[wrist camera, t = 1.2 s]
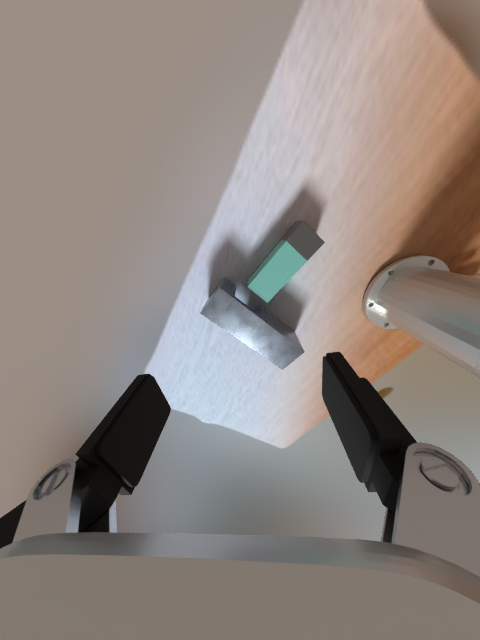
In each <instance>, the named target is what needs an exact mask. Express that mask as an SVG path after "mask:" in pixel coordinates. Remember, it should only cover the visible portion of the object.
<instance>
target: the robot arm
mask: <svg viewBox="0 0 480 640" xmlns="http://www.w3.org/2000/svg"><path fill="white" fill-rule="evenodd" d="M363 310H364V313H365V315H366V317H367V318H368V319H369V320H370V321H371V322H372V323H373V324H375V325H377V326H379V327H381V328H385V329H400V330H402V331H404V332H405V333H407V334H408V335H410V336H412V337H413V338H415V339H416V340H418V341H419V342H421V343H423V344H424V345H426V346H427V347H429V348H430V349H432V350H434V351H435V352H437V353H438V354H440V355H442V356H443V357H445V358H446V359H448V360H449V361H451V362H453V363H454V364H456V365H457V366H459V367H460V368H462V369H463V370H465V371H467V372H468V373H470V374H471V375H473V376H474V377H476V378H478V379H479V380H480V274H474V275H470V276H468V275H463V274H458V273H453V272H450V270H449V268H448V266H447V265H446V264H445V263H444V262H443V261H442V260H440V259H438V258H436V257H431V256H424V255H416V256H410V257H406V258H402V259H400V260H398V261H395V262H394V263H392V264H390V265H389V266H387V267H386V268H384V269H383V270H382V271H381V272H379V273H378V275H377V276H376V277H375V278H374V279H373V280H372V282H371V283H370V284H369V286H368V288H367V290H366V292H365V295H364V299H363ZM322 396H323V400H324V402H325V405H326V407H327V409H328V412H329V414H330V416H331V419H332V421H333V423H334V425H335V428H336V430H337V432H338V435H339V437H340V439H341V442H342V444H343V446H344V448H345V451H346V453H347V455H348V458H349V460H350V462H351V465H352V467H353V469H354V471H355V474H356V476H357V478H358V480H359V481H360V482H361V483H365V486H366V488H367V490H368V492H377V493H378V496H379V497H380V499H381V502H382V504H383V505H384V506H386V511H385V517H384V523H383V530H382V536H381V542H378V541H369V540H360V539H340V538H321V537H297V536H296V537H295V536H294V537H293V536H258V535H256V536H255V535H218V534H169V533H168V534H167V533H117V529H116V528H117V526H116V501H115V500H116V497H117V495H118V493H119V494H120V495H131V494H132V492H133V490H134V488H135V486H137V485H138V483H139V481H140V479H141V477H142V475H143V472H144V470H145V468H146V466H147V464H148V461H149V459H150V457H151V455H152V452H153V450H154V448H155V446H156V443H157V441H158V438H159V436H160V434H161V432H162V430H163V427H164V425H165V423H166V421H167V419H168V416H169V414H170V410H171V409H170V405H169V404H168V402H167V400H166V398H165V396H164V395H163V393H162V391H161V389H160V387H159V385H158V384H157V382H156V380H155V378H154V377H153V376H151V375H150V374H143V375H138V376H137V377H136V378H135V379H134V381H133V382H132V383H131V385H130V386H129V387H128V388H127V390H126V391H125V392H124V393H123V395H122V396H121V397H120V398H119V400H118V401H117V402H116V404H115V405H114V406H113V407H112V409H111V410H110V411H109V412H108V414H107V415H106V416H105V417H104V419H103V420H102V421H101V423H100V424H99V425H98V426H97V428H96V429H95V430H94V431H93V433H92V434H91V435H90V437H89V438H88V439H87V440H86V442H85V443H84V444H83V445H82V447H81V448H80V449H79V450H78V452H77V453H76V455H77V456H78V457H79V459H78V460H77V461H75V460H74V459H66V460H63V461H61V462H59V463H58V464H56V465H55V466H53V467H52V468H50V469H49V470H48V471H47V472H46V473H45V474H44V475H43V476H42V477H41V478H40V479H39V480H38V481H37V482H36V484H35V485H34V486H33V488H32V489H31V491H30V493H29V495H28V498H27V500H26V501H24V502H23V503H21V504H20V505H19V506H17V507H16V508H14V509H13V510H11V511H10V512H9V513H7V514H6V515H4V516H3V517H2V518H0V640H480V484H479V482H478V480H477V479H476V478H475V476H474V474H473V473H472V471H470V469H469V468H468V467H467V466H466V465H465V464H463V463H462V461H460V460H459V459H457V458H456V457H455V456H453V455H452V454H451V453H449V452H447V451H445V450H443V449H442V448H440V447H437V446H434V445H431V444H426V443H417V442H416V440H415V439H414V438H413V437H412V436H411V434H410V433H409V432H408V430H407V429H406V428H405V427H404V425H403V424H402V423H401V422H400V420H399V419H398V418H397V416H396V415H395V414H394V413H393V411H392V410H391V409H390V408H389V406H388V405H387V404H386V403H385V401H384V400H383V399H382V397H381V396H380V395H379V394H378V392H377V391H376V390H375V389H374V387H373V386H372V385H371V384H370V382H369V381H368V380H367V379H365V378H359V377H358V375H357V374H356V373H355V371H354V370H353V369H352V367H351V366H350V365H349V363H348V362H347V361H346V359H345V358H344V356H343V355H342V354H341V353H340V352H333V353H327V354H326V356H324V357H323V374H322Z"/></svg>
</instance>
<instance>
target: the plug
mask: <svg viewBox="0 0 480 640" xmlns="http://www.w3.org/2000/svg"><path fill="white" fill-rule="evenodd" d="M324 243H325V242H324V241H323V240H322V239H321V238H320V237H319V236H318V235H317V234H316V233H315V232H314V231H313V230H312V229H311V228H310V226H309V225H308V224H307V223H306V222H305V221H299V222H295V224H294V225H293V226H292V227H291V228H290V230H289V231H288V232H287V233H286V234H285V236H284V237H283V238H282V239H281V240H280V242H279V243H278V244H277V245H276V246H275V248H274V249H273V250H272V251H271V252H270V254H269V255H268V256H267V257H266V258H265V260H264V261H263V262H262V263H261V265H260V266H259V267H258V268H257V269H256V271H255V272H254V273H253V274H252V275H251V277H250V278H249V279H248V280H247V287H248V288H249V289H250V290H252V291H253V292H254V293H255V294H257V295H258V296H259V297H260V298H262V299H263V300H264V301H265V302H267V303H268V302H269V301H270V300H271V299H272V298H273V297H274V295H275V294H276V293H277V292H278V291H279V290H280V289H281V288H282V287H283V286H284V285H285V284H286V283H287V282H288V281H289V280H290V279H291V278H292V276H293V275H294V274H295V273H296V272H297V271H298V270H299V269H300V268H301V267H302V266H303V265H304V264H305V263H306V262H307V261H308V260H309V258H310V257H311V256H312V255H313V254H314V253H315V252H316V251H317V250H318V249H319V248H320V247H321V246H322V245H323V244H324Z"/></svg>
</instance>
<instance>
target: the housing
mask: <svg viewBox="0 0 480 640" xmlns="http://www.w3.org/2000/svg"><path fill="white" fill-rule="evenodd" d="M235 292H236V286H235V285H234V284H233V283H231V282H230V281H229V280H227V279H226V278H224V279H223V280H222V282H221V283H220V284H219V286H218V287H217V288H216V290H215V291H214V292H213V293H212V295H211V296H210V297H209V299H208V300H207V302H206V304H205V306H204V307H203V309H202V311H201V314H202V315H204V316H205V317H207V318H208V319H210V320H211V321H212V322H214V323H215V324H217V325H218V326H220V327H221V328H223V329H224V330H226V331H227V332H228V333H230V334H231V335H233V336H234V337H236V338H237V339H239V340H240V341H241V342H243V343H244V344H246V345H247V346H249V347H250V348H252V349H253V350H255V351H256V352H257V353H259V354H260V355H262V356H263V357H265V358H266V359H268V360H269V361H271V362H272V363H273V364H275V365H276V366H278V367H279V368H281V369H282V370H283V369H284V368H285V367H287V366H288V365H289V364H290V363H292V362H293V361H294V360H295V359H296V358H298V357H299V356H300V355H301V354H303V353H304V350H303V348H302V346H301V344H300V342H299V339H298V337H297V335H296V333H295V332H294V331H292V330H291V329H290V328H288V327H287V326H286V325H285V324H283V323H282V322H281V321H280V320H278V319H277V318H276V317H275V316H273V315H272V314H271V313H269V312H268V311H267V310H266V309H264V308H263V307H262V306H261V305H260V306H259V308H258V309H257V310H256V311H253V310H252V309H251V308H249V307H248V306H247V305H246V304H244V303H243V302H242V301H240V300H239V299H238V298H236V297H235Z"/></svg>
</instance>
